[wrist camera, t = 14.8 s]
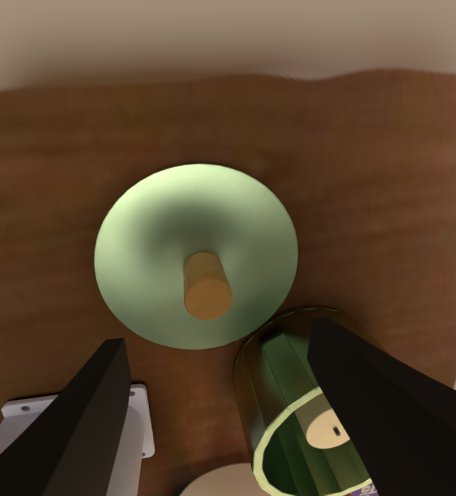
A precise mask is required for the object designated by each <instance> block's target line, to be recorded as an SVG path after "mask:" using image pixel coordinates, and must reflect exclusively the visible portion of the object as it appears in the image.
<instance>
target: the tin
mask: <svg viewBox="0 0 456 496" xmlns="http://www.w3.org/2000/svg"><path fill="white" fill-rule="evenodd" d="M324 317H328V318H330V319H331V320H333V321H335V322H337V323H338V324H340V325H342V326H343V327H345V328H346V329H348V330H350V331H351V332H353V333H354V334H356V335H358V336H359V337H361V338H362V339H364V340H366V341H367V342H369V343H370V344H372V345H374V346H375V347H377V348H379V349H380V350H382V351H384V352H385V353H387V354H389V353H388V352H387V351H386V350H385V349H384V348H383V347H382V346H381V345H380V344H379V343H378V342H377V341H376V340H375V339H374V338H373V337H372V336H370V335H369V334H368V333H367V332H366V331H365V330H364V329H363V328H362V327H361V326H360V325H359V324H358V323H357V322H356V321H355V320H353V319H352V318H351V317H350V316H348V315H347V314H345V313H344V312H342V311H339V310H337V309H334V308H330V307H326V306H306V307H299V308H295V309H292V310H288V311H286V312H283V313H281V314H279V315H277V316H275V317H273V318H271V319H269V320H268V321H266V322H265V323H264V324H263V325H262V326H260V327H259V328H258V329H256V330H255V331H254V332H253V333H252V334H251V335H250V336H249V337H248V338H247V339H246V341H245V342H244V343H243V345H242V346H241V348H240V350H239V352H238V354H237V356H236V359H235V362H234V366H233V387H234V391H235V396H236V400H237V405H238V409H239V414H240V418H241V423H242V427H243V432H244V436H245V441H246V445H247V450H248V454H249V459H250V463H251V467H252V472H253V474H254V476H255V478H256V480H257V482H258V484H259V486H260V488H261V489H263V490H264V491H266V492H267V493H269V494H270V495H272V496H343V495H346V494H348V493H351V492H353V491H355V490H358V489H360V488H363V487H365V485H366V486H367V485H368V484H370V483H372V480H371V478H370V476H369V474H368V472H367V470H366V468H365V466H364V464H363V462H362V460H361V458H360V456H359V454H358V452H357V451H356V449H355V447H354V445H353V443H352V442H351V440H350V439H349V440H348V441H346V442H345V443H343V444H341V445H338V446H336V447H332V448H326V449H320V448H316V447H313V446H311V445H310V444H309V443H308V441H307V440H306V437H305V435H304V433H303V430H302V428H301V426H300V424H299V421H298V419H297V417H296V414H295V412H294V411H295V410H296V409H298V408H299V407H301V406H302V405H304V404H305V403H307V402H308V401H310V400H311V399H313V398H314V397H316V396H317V395H319V394H322V393H323V392H322V390H321V389H320V387H319V385H318V383H317V381H316V379H315V377H314V374H313V372H312V370H311V367H310V365H309V363H308V360H307V353H308V347H309V341H310V335H311V329H312V322H313V319H314V318H324ZM389 355H390V354H389ZM390 356H391V355H390Z"/></svg>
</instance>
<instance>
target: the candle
mask: <svg viewBox="0 0 456 496" xmlns="http://www.w3.org/2000/svg"><path fill="white" fill-rule="evenodd" d="M294 412H295V414H296V417H297V419H298V421H299V424H300V426H301V428H302V430H303V433H304V435H305V437H306V440H307V441H308V443H309V444H310V445H311V446H313V447H316V448H320V449H326V448H332V447H336V446H338V445H341V444H343V443H345V442H346V441H348V440H349V439H350V438H349V436H348V435H347V433H346V431H345V430H344V428H343V426H342V425H341V423H340V421H339V419H338V418H337V416H336V414H335V413H334V411H333V409H332V408H331V406H330V404H329V402H328V401H327V399H326V397H325V396H324V394H323V393H322V394H319V395H317V396H316V397H314V398H313V399H311V400H310V401H308V402H307V403H305V404H304V405H302V406H301V407H299V408H298V409H296V410H295V411H294Z"/></svg>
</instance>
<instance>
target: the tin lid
mask: <svg viewBox="0 0 456 496" xmlns="http://www.w3.org/2000/svg"><path fill="white" fill-rule="evenodd" d="M297 264H298V244H297V237H296V233H295V228H294V226H293V223H292V220H291V218H290V216H289V214H288V212H287V210H286V209H285V207H284V205H283V204H282V203H281V201H280V200H279V199H278V198H277V196H276V195H275V194H274V193H273V192H272V191H271V190H270V189H269V188H268V187H266V186H265V185H264V184H262V183H261V182H260V181H258V180H257V179H255V178H253V177H252V176H250V175H248V174H246V173H244V172H241V171H239V170H236V169H233V168H230V167H227V166H222V165H218V164H210V163H189V164H181V165H176V166H171V167H168V168H165V169H162V170H159V171H157V172H154V173H152V174H150V175H148V176H147V177H145V178H143V179H141V180H140V181H138V182H137V183H136V184H134V185H133V186H131V187H130V188H129V189H127V190H126V191H125V192H124V193H123V194H122V195H121V196H120V197H119V198H118V199H117V200H116V202H115V203H114V204H113V206H112V207H111V208H110V210H109V211H108V213H107V215H106V216H105V218H104V220H103V222H102V224H101V227H100V229H99V232H98V235H97V238H96V243H95V249H94V270H95V277H96V281H97V284H98V288H99V290H100V293H101V295H102V297H103V299H104V301H105V303H106V304H107V306H108V307H109V309H110V311H111V312H112V313H113V314H114V315H115V316H116V318H117V319H118V320H119V321H120V322H121V323H122V324H124V325H125V326H126V327H127V328H128V329H130V330H131V331H133V332H134V333H135V334H137V335H139V336H141V337H143V338H144V339H146V340H148V341H151V342H154V343H156V344H159V345H163V346H166V347H170V348H177V349H190V350H196V349H208V348H213V347H218V346H222V345H226V344H229V343H231V342H234V341H236V340H239V339H241V338H243V337H245V336H247V335H249V334H250V333H252V332H253V331H255V330H256V329H258V328H259V327H260V326H262V325H263V324H264V323H265V322H266V321H267V320H268V319H269V318H270V317H271V316H272V315H273V314H274V313H275V312H276V311H277V310H278V308H279V307H280V306H281V305H282V303H283V301H284V300H285V298H286V296H287V295H288V293H289V290H290V288H291V286H292V284H293V280H294V277H295V274H296V269H297Z"/></svg>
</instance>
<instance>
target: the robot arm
mask: <svg viewBox="0 0 456 496" xmlns="http://www.w3.org/2000/svg"><path fill="white" fill-rule="evenodd" d="M307 360H308V363H309V365H310V367H311V370H312V372H313V374H314V377H315V379H316V381H317V383H318V385H319V387H320V389H321V390H322V392H323V394H324V396H325V397H326V399H327V401H328V402H329V404H330V406H331V408H332V409H333V411H334V413H335V414H336V416H337V418H338V419H339V421H340V423H341V425H342V426H343V428H344V430H345V431H346V433H347V435H348V436H349V438H350V440H351V442H352V443H353V445H354V447H355V449H356V451H357V452H358V454H359V456H360V458H361V460H362V462H363V464H364V466H365V468H366V470H367V472H368V474H369V476H370V478H371V480H372V483H373V485H374V487H375V489H376V491H377V493H378V495H379V496H456V390H454V389H452V388H450V387H448V386H446V385H444V384H442V383H440V382H438V381H436V380H434V379H432V378H430V377H428V376H426V375H424V374H422V373H420V372H419V371H417V370H415V369H413V368H411V367H410V366H408V365H406V364H404V363H402V362H401V361H399V360H397V359H395V358H394V357H392V356H390V355H389V354H387V353H385V352H384V351H382V350H380V349H379V348H377V347H375V346H374V345H372V344H370V343H369V342H367V341H366V340H364V339H362V338H361V337H359V336H358V335H356V334H354V333H353V332H351V331H350V330H348V329H346V328H345V327H343V326H342V325H340V324H338V323H337V322H335V321H333V320H331V319H330V318H328V317H324V318H314V319H313V322H312V329H311V335H310V341H309V347H308V353H307ZM130 391H133V392H130ZM1 410H2V413H3V416H4V419H3V421H2V422H1V424H0V496H137V491H138V483H139V475H140V467H141V459H142V458H146V457H151V456H152V455H153V454H154V452H155V446H154V439H153V432H152V425H151V418H150V411H149V405H148V398H147V391H146V387H145V385H143V384H134V385H131V375H130V369H129V363H128V357H127V351H126V345H125V339H124V338H117V339H107V340H105V341H104V342H103V343H102V345H101V346H100V347H99V348H98V349H97V351H96V352H95V353H94V354H93V355H92V357H91V358H90V359H89V360H88V361H87V363H86V364H85V365H84V366H83V367H82V369H81V370H80V371H79V372H78V373H77V374H76V376H75V377H74V378H73V379H72V380H71V381H70V382H69V383H68V385H67V386H66V387H65V388H64V389H63V390H62V391H61V393H60V394H59V395H52V396H45V397H38V398H30V399H23V400H15V401H9V402H7V403H5V405H4V406H3V408H2V409H1Z"/></svg>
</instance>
